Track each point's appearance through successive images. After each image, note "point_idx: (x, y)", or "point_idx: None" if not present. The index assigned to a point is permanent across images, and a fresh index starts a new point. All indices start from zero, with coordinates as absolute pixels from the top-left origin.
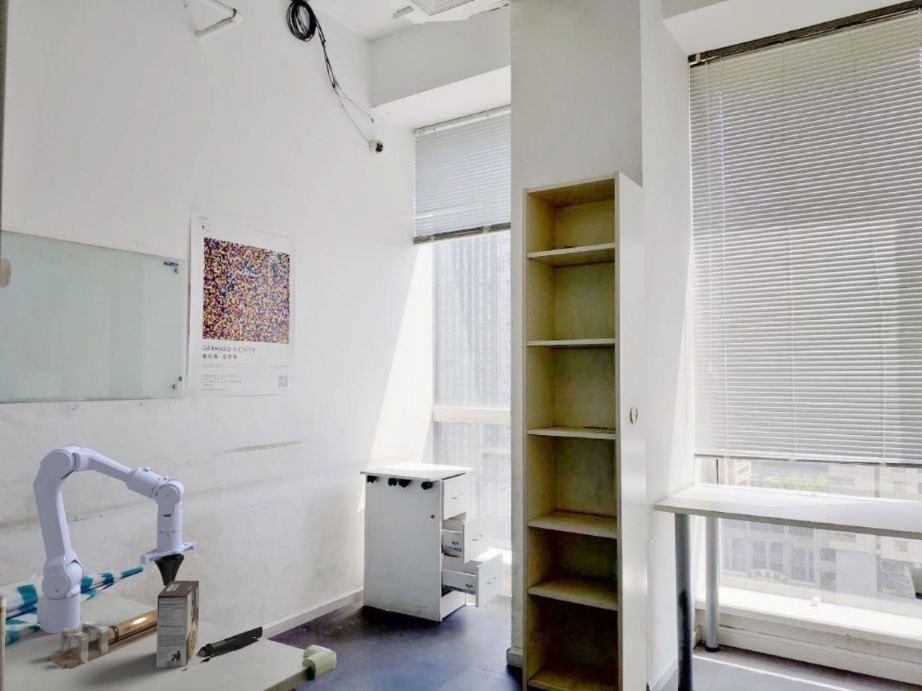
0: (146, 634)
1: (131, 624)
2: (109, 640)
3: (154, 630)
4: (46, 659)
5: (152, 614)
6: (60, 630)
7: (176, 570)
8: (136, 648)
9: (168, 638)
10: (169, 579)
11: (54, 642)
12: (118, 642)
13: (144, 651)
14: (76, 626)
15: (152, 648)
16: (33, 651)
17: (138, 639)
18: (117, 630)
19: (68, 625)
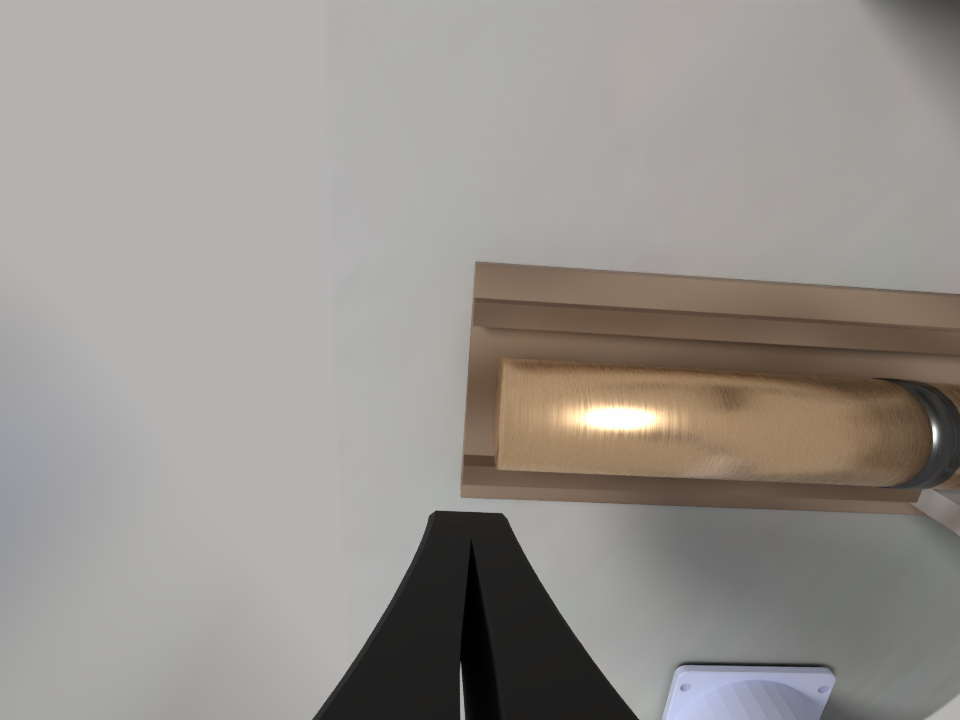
0: (709, 314)
1: (820, 402)
2: (946, 383)
3: (653, 310)
4: None
5: (639, 407)
6: (809, 710)
7: (390, 688)
8: (812, 256)
9: None
10: (535, 579)
11: (839, 655)
12: (907, 339)
13: (839, 171)
14: (739, 697)
15: (789, 159)
16: (937, 647)
17: (775, 304)
18: (930, 403)
19: (794, 718)
